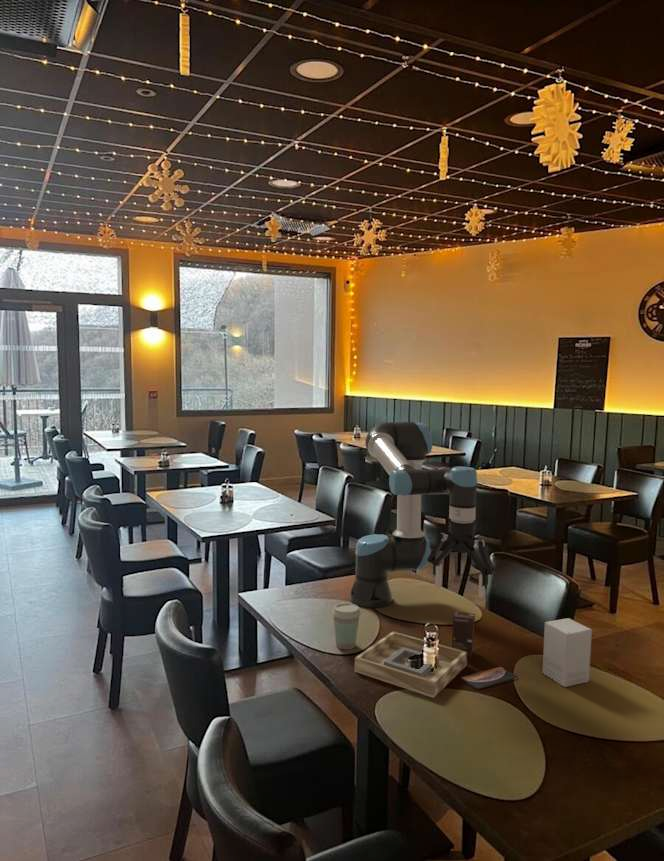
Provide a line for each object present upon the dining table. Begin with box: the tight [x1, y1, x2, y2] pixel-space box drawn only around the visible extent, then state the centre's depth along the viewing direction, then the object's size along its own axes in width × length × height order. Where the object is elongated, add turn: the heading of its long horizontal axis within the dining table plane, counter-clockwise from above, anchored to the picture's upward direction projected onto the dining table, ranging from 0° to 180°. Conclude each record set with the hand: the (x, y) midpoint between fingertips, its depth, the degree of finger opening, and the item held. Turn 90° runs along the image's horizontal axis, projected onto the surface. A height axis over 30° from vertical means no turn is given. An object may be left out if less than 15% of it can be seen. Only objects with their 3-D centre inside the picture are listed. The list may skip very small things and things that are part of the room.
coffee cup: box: [331, 602, 361, 651], centre depth 193 cm, size 8×8×12 cm
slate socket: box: [384, 647, 439, 678], centre depth 180 cm, size 12×12×2 cm
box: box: [451, 611, 476, 658], centre depth 189 cm, size 6×4×12 cm
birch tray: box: [354, 630, 468, 699], centre depth 180 cm, size 22×24×4 cm
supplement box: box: [542, 617, 593, 688], centre depth 176 cm, size 9×9×15 cm
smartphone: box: [460, 666, 518, 691], centre depth 175 cm, size 8×1×15 cm
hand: (459, 591), depth 187 cm, fingers open, 13 cm apart
